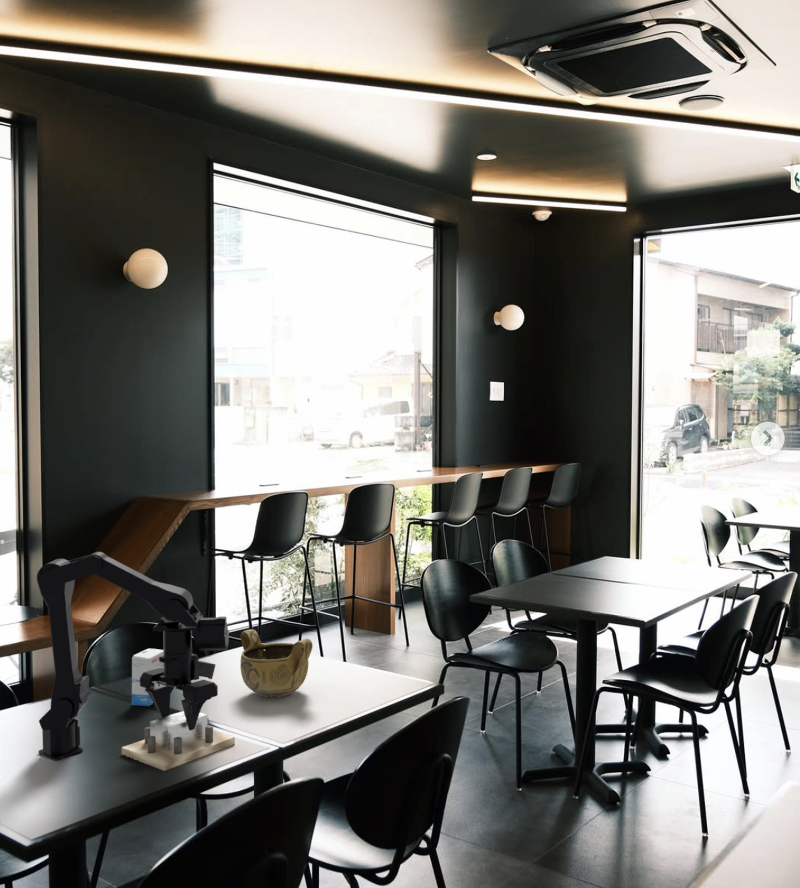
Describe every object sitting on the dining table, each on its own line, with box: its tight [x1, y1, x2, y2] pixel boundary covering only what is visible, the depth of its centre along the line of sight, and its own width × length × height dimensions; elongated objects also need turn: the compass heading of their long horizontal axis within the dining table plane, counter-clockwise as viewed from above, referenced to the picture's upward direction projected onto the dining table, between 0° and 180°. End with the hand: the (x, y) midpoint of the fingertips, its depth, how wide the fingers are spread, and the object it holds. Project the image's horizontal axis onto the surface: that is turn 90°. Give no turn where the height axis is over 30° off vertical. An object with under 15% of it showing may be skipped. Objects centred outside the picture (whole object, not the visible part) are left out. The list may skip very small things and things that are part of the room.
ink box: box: [131, 648, 164, 707], centre depth 218 cm, size 8×5×12 cm, turn 168°
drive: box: [149, 710, 208, 752], centre depth 186 cm, size 10×6×5 cm, turn 142°
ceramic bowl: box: [239, 629, 313, 699], centre depth 223 cm, size 22×17×15 cm
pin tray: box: [121, 717, 236, 772], centre depth 186 cm, size 18×14×4 cm
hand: (178, 725), depth 186 cm, fingers open, 8 cm apart
